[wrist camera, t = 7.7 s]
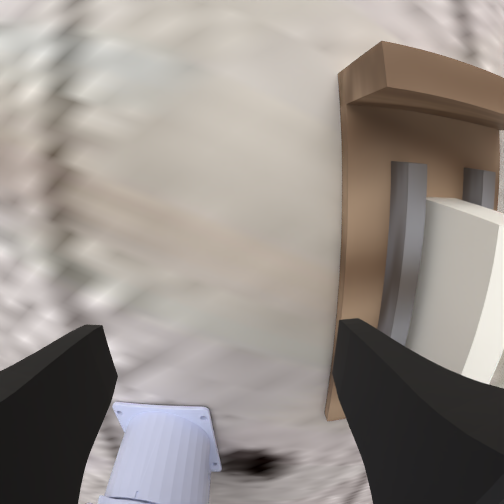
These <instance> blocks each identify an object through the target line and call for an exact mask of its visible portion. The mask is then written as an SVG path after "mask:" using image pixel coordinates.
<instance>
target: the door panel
mask: <svg viewBox="0 0 504 504" xmlns="http://www.w3.org/2000/svg"><path fill="white" fill-rule="evenodd" d="M405 347H407V348H409V349H410V350H412V351H414V352H415V353H417V354H419V355H421V356H423V357H425V358H426V359H428V360H430V361H432V362H434V363H436V364H438V365H440V366H442V367H444V368H446V369H448V370H451V371H453V372H456V373H458V374H460V375H463V376H465V377H468V378H470V379H473V380H476V381H479V382H482V383H485V384H489V383H490V381H491V378H492V376H493V374H494V372H495V369H496V367H497V365H498V362H499V360H500V357H501V355H502V352H503V350H504V213H501V212H498V211H495V210H492V209H489V208H486V207H483V206H479V205H476V204H473V203H470V202H466V201H463V200H460V199H456V198H441V197H426V212H425V225H424V236H423V246H422V254H421V262H420V270H419V276H418V283H417V289H416V295H415V301H414V306H413V311H412V316H411V321H410V326H409V331H408V335H407V339H406V344H405Z"/></svg>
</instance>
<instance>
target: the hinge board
mask: <svg viewBox="0 0 504 504" xmlns="http://www.w3.org/2000/svg"><path fill="white" fill-rule="evenodd" d="M338 82H339V96H340V113H341V135H342V237H341V260H340V278H339V293H338V306H337V317H336V328H335V338H334V347H333V356H332V364H331V372H330V380H329V387H328V394H327V401H326V407H325V416H326V419H327V421H333V420H339V419H345V418H346V417H345V414H344V412H343V409H342V407H341V404H340V401H339V399H338V395H337V391H336V387H335V383H334V379H333V374H332V370H333V364H334V356H335V349H336V341H337V333H338V325H339V320H343V319H353V318H359V319H361V320H363V321H365V322H367V323H368V324H370V325H372V326H373V327H375V328H376V329H378V330H380V331H381V332H383V333H384V334H386V335H387V336H389V337H391V338H392V339H394V340H395V341H397V342H399V343H400V344H402V345H404V346H405V344H406V339H407V335H408V331H409V326H410V321H411V316H412V311H413V306H414V301H415V295H416V289H417V283H418V276H419V270H420V262H421V254H422V246H423V236H424V225H425V212H426V197H441V198H456V199H460V200H463V201H466V202H470V203H473V204H476V205H479V206H483V207H486V208H489V209H492V210H495V211H497V205H498V191H499V167H500V144H499V130H504V78H503V77H500V76H498V75H496V74H493V73H491V72H488V71H486V70H483V69H481V68H478V67H475V66H473V65H470V64H467V63H464V62H461V61H458V60H455V59H452V58H449V57H446V56H442V55H439V54H435V53H432V52H428V51H425V50H421V49H417V48H413V47H409V46H404V45H400V44H395V43H390V42H385V41H381V42H379V43H378V44H377V45H375V46H374V47H373V48H371V49H370V50H369V51H367V52H366V53H364V54H363V55H362V56H360V57H359V58H358V59H356V60H355V61H354V62H352V63H351V64H350V65H349V66H347V67H346V68H345V69H343V70H342V71H341V72H340V73H338Z"/></svg>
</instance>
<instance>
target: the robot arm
mask: <svg viewBox="0 0 504 504" xmlns="http://www.w3.org/2000/svg"><path fill="white" fill-rule="evenodd" d="M332 374H333V379H334V383H335V387H336V391H337V395H338V399H339V401H340V404H341V407H342V409H343V412H344V414H345V417H346V419H347V422H348V424H349V427H350V429H351V431H352V434H353V436H354V439H355V441H356V444H357V446H358V449H359V451H360V454H361V457H362V460H363V463H364V466H365V469H366V473H367V477H368V482H369V486H370V490H371V495H372V500H373V504H504V389H503V388H499V387H495V386H492V385H489V384H485V383H482V382H479V381H476V380H473V379H470V378H468V377H465V376H463V375H460V374H458V373H456V372H453V371H451V370H448V369H446V368H444V367H442V366H440V365H438V364H436V363H434V362H432V361H430V360H428V359H426V358H425V357H423V356H421V355H419V354H417V353H415V352H414V351H412V350H410V349H409V348H407V347H405V346H404V345H402V344H400V343H399V342H397V341H395V340H394V339H392V338H391V337H389V336H387V335H386V334H384V333H383V332H381V331H380V330H378V329H376V328H375V327H373V326H372V325H370V324H368V323H367V322H365V321H363V320H361V319H359V318H353V319H343V320H339V325H338V333H337V341H336V349H335V356H334V364H333V370H332ZM117 377H118V375H117V372H116V369H115V366H114V363H113V360H112V357H111V354H110V351H109V347H108V344H107V340H106V337H105V333H104V330H103V326H102V325H84V326H82V327H79V328H77V329H75V330H74V331H72V332H70V333H68V334H66V335H64V336H63V337H61V338H59V339H58V340H56V341H54V342H53V343H51V344H49V345H47V346H46V347H44V348H42V349H41V350H39V351H37V352H36V353H34V354H32V355H30V356H28V357H26V358H25V359H23V360H21V361H19V362H17V363H16V364H14V365H12V366H10V367H8V368H6V369H4V370H2V371H0V504H78V500H79V494H80V488H81V483H82V479H83V474H84V470H85V466H86V463H87V460H88V457H89V454H90V451H91V449H92V446H93V444H94V441H95V439H96V436H97V434H98V432H99V429H100V427H101V425H102V422H103V420H104V417H105V415H106V413H107V410H108V408H109V405H110V403H111V400H112V396H113V393H114V389H115V385H116V381H117ZM113 409H114V412H115V414H116V416H117V418H118V420H119V422H120V424H121V427H122V429H123V431H124V433H125V434H124V437H123V440H122V443H121V445H120V448H119V451H118V454H117V457H116V461H115V464H114V467H113V470H112V473H111V476H110V479H109V482H108V486H107V489H106V492H105V495H104V496H102V495H100V496H99V499H98V503H97V504H209V494H210V478H211V471H215V472H217V471H221V469H222V466H221V461H220V457H219V453H218V448H217V444H216V439H215V435H214V430H213V425H212V420H211V415H210V411H209V409H208V408H206V407H201V406H165V405H148V404H135V403H124V402H114V404H113ZM203 416H205V417H203ZM86 504H92V503H89V502H88V503H86Z"/></svg>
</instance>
